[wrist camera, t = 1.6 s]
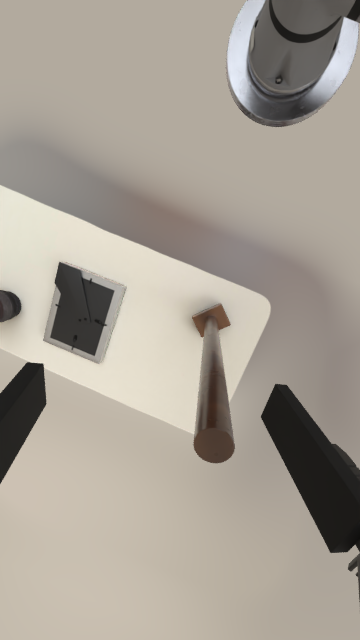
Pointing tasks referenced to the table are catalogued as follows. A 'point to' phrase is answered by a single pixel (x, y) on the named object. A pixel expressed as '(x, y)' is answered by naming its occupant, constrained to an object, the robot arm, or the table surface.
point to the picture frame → (83, 312)
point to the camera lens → (8, 305)
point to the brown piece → (212, 391)
